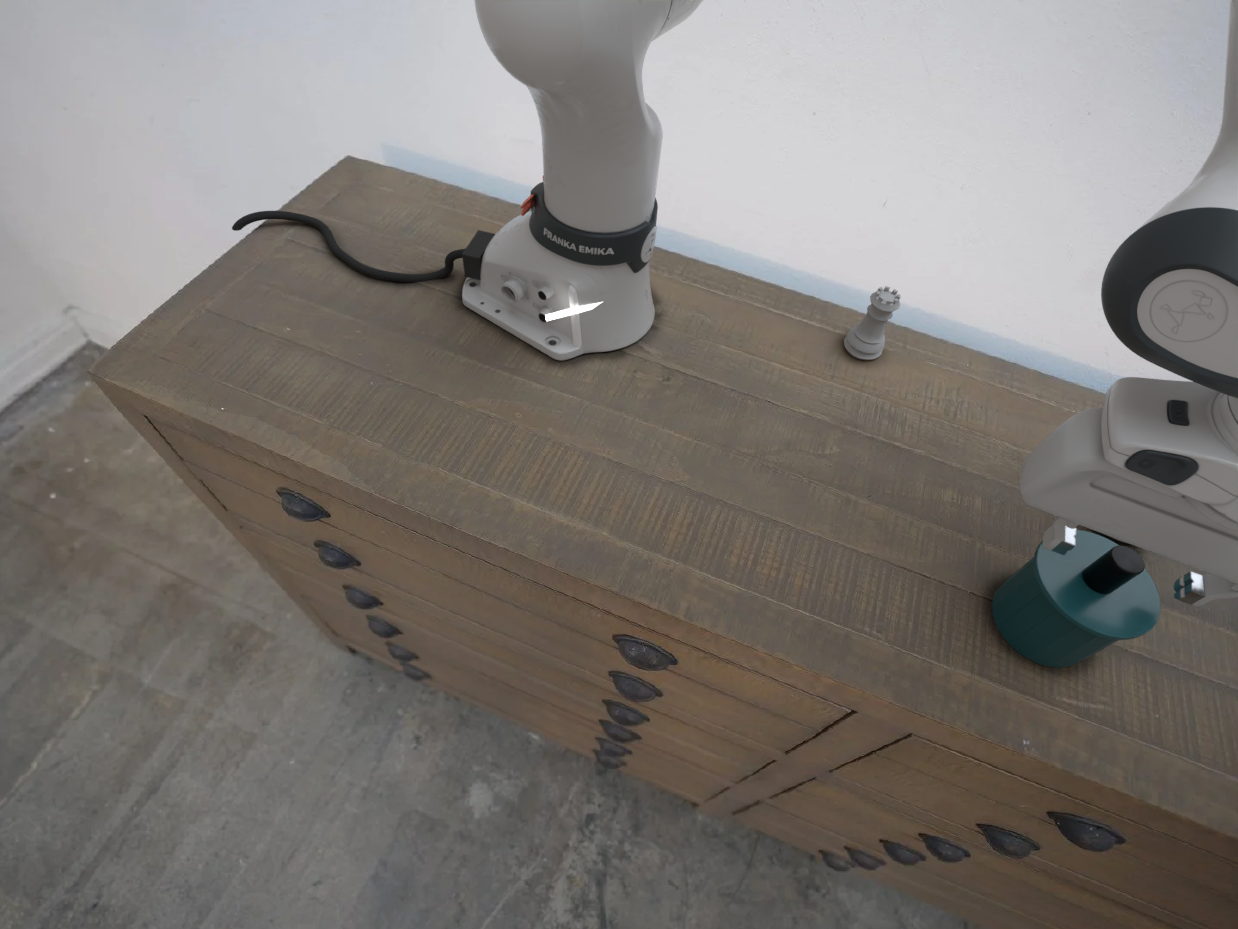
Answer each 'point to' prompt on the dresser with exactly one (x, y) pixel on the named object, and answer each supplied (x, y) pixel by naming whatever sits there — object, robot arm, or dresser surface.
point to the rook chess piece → (872, 325)
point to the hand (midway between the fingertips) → (1116, 569)
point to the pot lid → (1099, 587)
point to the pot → (1040, 624)
